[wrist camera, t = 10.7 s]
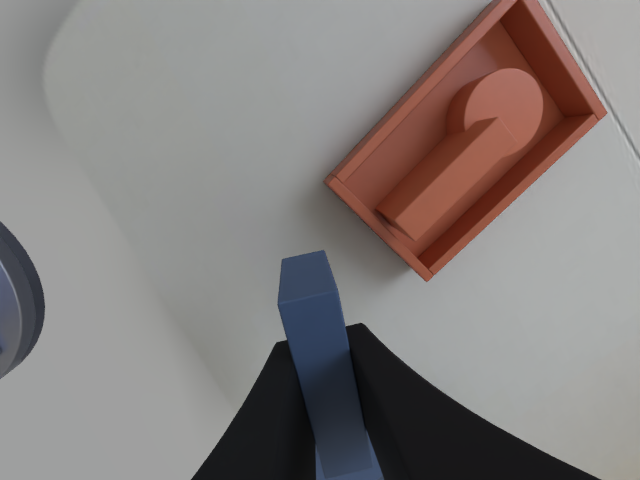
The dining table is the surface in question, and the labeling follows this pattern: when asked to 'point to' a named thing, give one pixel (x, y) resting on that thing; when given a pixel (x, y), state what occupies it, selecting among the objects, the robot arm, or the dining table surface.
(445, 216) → the terracotta tray
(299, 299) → the slate spoon
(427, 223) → the terracotta spoon
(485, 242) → the dining table surface
